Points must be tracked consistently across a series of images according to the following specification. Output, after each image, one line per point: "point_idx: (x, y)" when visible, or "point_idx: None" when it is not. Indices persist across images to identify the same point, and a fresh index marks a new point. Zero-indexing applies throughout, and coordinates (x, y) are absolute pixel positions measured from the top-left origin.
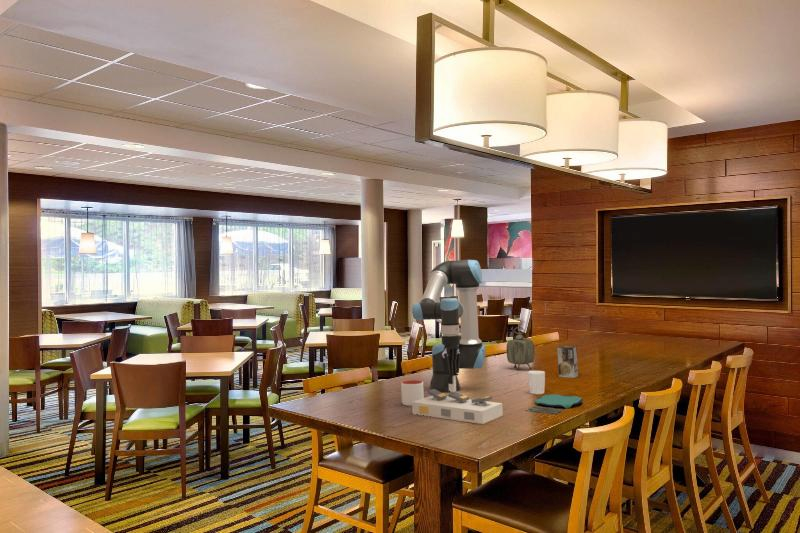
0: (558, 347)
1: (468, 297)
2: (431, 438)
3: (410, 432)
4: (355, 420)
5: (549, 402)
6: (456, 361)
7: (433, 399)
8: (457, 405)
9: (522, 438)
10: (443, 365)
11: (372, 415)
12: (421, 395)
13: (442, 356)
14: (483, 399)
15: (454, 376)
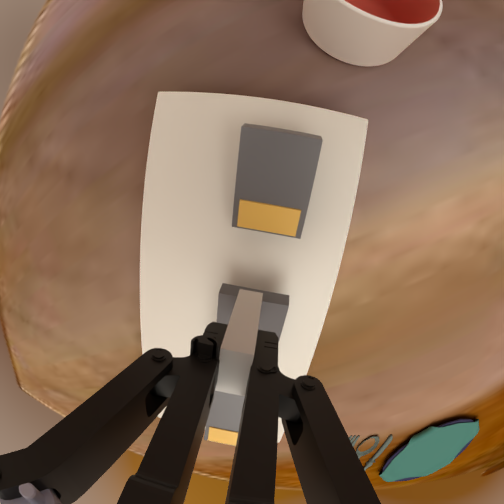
0: None
1: None
2: (20, 302)
3: (19, 235)
4: (65, 19)
5: (424, 446)
6: (313, 489)
7: None
8: (177, 333)
9: None
10: (86, 403)
11: (123, 5)
12: (360, 50)
13: (9, 467)
14: (205, 429)
15: (226, 390)
